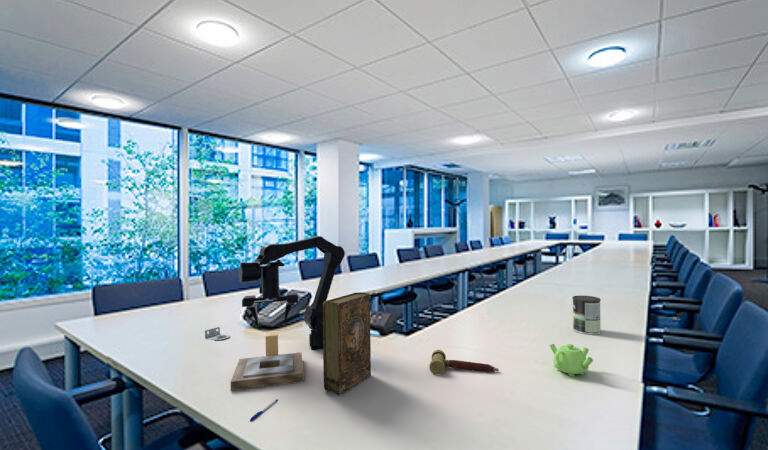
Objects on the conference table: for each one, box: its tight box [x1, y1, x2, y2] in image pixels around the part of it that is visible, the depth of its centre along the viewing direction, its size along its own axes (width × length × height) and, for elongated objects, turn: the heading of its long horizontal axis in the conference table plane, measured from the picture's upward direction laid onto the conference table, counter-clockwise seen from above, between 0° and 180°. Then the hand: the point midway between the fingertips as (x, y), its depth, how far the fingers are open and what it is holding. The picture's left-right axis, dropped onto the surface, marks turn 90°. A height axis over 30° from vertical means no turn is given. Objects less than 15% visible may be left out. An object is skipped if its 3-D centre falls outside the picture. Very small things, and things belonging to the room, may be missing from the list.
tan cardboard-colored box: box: [265, 331, 279, 356], centre depth 125 cm, size 4×4×8 cm
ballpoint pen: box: [249, 398, 278, 422], centre depth 89 cm, size 10×1×1 cm, turn 163°
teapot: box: [549, 343, 594, 378], centre depth 109 cm, size 11×12×8 cm
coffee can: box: [572, 295, 602, 336], centre depth 149 cm, size 10×10×14 cm
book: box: [322, 291, 372, 396], centre depth 103 cm, size 16×6×25 cm, turn 148°
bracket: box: [204, 326, 231, 341], centre depth 149 cm, size 7×10×4 cm, turn 57°
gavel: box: [429, 349, 500, 375], centre depth 111 cm, size 21×5×10 cm
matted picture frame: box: [230, 352, 305, 392], centre depth 111 cm, size 20×18×3 cm
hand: (271, 323), depth 125 cm, fingers open, 9 cm apart
